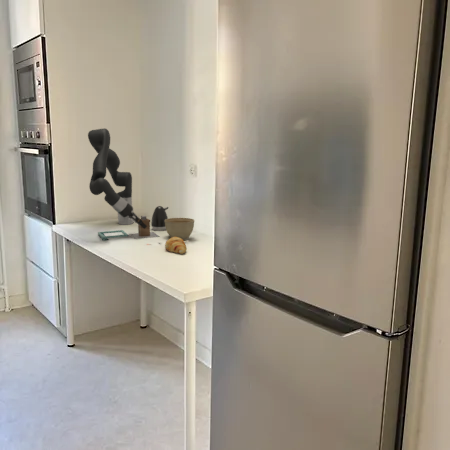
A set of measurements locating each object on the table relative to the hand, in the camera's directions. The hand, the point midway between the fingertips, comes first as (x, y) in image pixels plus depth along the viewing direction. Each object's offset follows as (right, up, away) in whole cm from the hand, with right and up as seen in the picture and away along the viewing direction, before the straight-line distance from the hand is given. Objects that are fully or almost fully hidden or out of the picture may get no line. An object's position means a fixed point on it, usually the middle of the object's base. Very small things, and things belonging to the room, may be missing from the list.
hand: (143, 226), depth 248 cm
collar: (0, -5, +1) cm, 5 cm away
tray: (-18, -6, +2) cm, 19 cm away
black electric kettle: (+7, -3, +18) cm, 19 cm away
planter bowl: (+20, -7, -3) cm, 22 cm away
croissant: (+20, -12, -27) cm, 36 cm away
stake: (0, -6, +1) cm, 6 cm away
